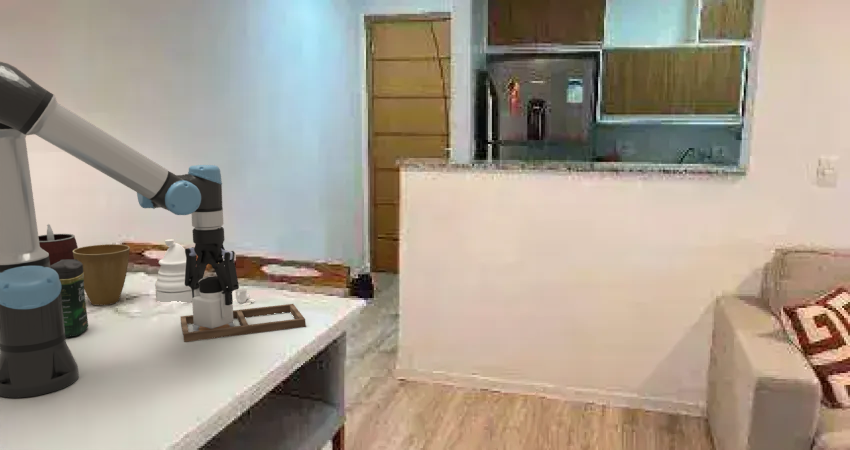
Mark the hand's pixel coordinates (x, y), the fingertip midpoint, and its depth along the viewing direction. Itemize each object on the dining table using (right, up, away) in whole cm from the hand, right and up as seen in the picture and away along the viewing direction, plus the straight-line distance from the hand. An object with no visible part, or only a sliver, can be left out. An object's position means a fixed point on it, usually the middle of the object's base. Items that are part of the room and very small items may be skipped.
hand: (213, 315), depth 171 cm
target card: (0, -4, +1) cm, 4 cm away
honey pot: (-19, +1, +29) cm, 35 cm away
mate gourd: (-61, +2, +38) cm, 72 cm away
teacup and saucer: (+3, 0, +26) cm, 26 cm away
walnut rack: (+7, -3, +3) cm, 8 cm away
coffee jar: (-35, -4, -2) cm, 36 cm away
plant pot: (-39, 0, +25) cm, 47 cm away
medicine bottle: (0, -2, 0) cm, 2 cm away
